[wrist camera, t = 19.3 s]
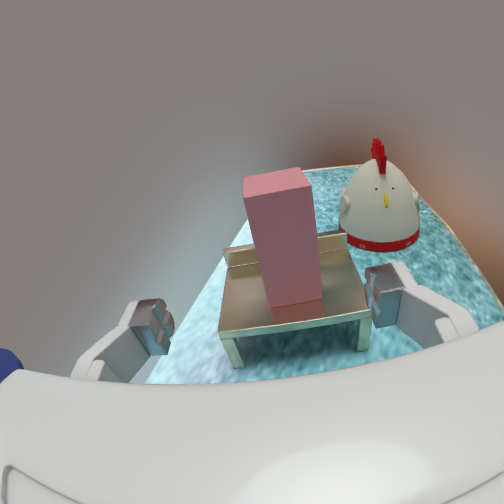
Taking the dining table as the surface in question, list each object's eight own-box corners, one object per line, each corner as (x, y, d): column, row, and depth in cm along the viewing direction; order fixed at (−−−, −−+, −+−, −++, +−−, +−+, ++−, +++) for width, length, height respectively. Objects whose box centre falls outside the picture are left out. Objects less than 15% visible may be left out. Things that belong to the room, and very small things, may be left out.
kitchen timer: (341, 253, 41) (333, 153, 33) (337, 212, 52) (329, 133, 44) (428, 249, 37) (436, 151, 29) (407, 208, 48) (407, 130, 40)
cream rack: (233, 369, 28) (210, 317, 24) (239, 299, 37) (223, 248, 33) (368, 349, 26) (375, 292, 22) (346, 283, 36) (344, 228, 31)
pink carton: (269, 308, 26) (243, 197, 20) (265, 276, 30) (243, 177, 25) (322, 298, 26) (311, 185, 20) (312, 267, 30) (299, 166, 24)
